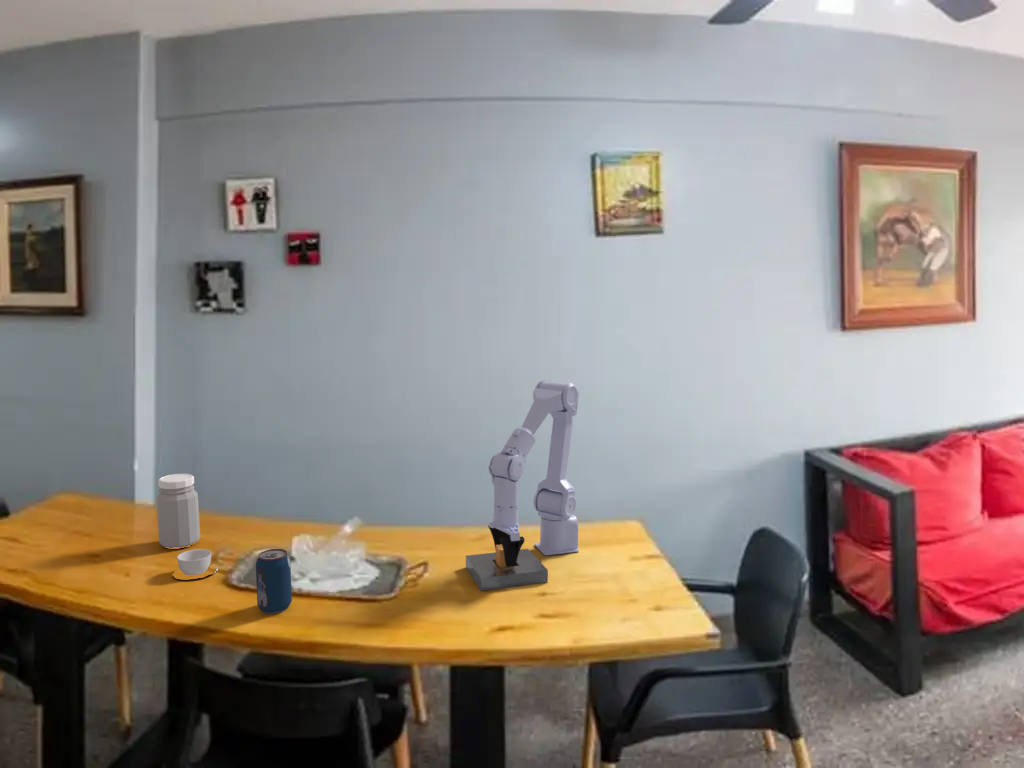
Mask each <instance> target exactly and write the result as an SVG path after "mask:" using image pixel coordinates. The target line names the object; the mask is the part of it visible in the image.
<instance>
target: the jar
mask: <svg viewBox="0 0 1024 768" xmlns="http://www.w3.org/2000/svg"><path fill="white" fill-rule="evenodd" d="M157 480H158V481H157V483H158V487H159V489H158V492H159V493H158V495H157V496H156V513H157V514H156V515H157V527H158V528H157V529H158V543H159V544H160V545H161V546H162V547H163V546H164V547H169V548H173V547H183V546H188V545H191V544H193V543H195V542H196V543H197V542H198V541H199V540H200V538H201V529H200V528H201V527H200V510H199V509H200V508H199V494H198V491H197V490H195V485H194V484H195V476H194V475H193V474H191V473H173V474H172V473H171V474H168V475H164V476H161V477H160V478H159V479H157ZM164 547H163V548H164Z"/></svg>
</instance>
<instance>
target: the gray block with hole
mask: <svg viewBox="0 0 1024 768" xmlns="http://www.w3.org/2000/svg"><path fill="white" fill-rule="evenodd" d="M465 569H466V570H467V572H468V573H469V575H470V576H471V578H472V580H473V581H474V583H475V584H476V586H477V587H478V589H479V590H480V592H484V591H493V590H499V589H501V590H502V589H507V588H509V589H510V588H516V587H524V586H531V585H538V584H545V583H546V584H547V583H549V581H548V580H549V577H548V576H549V574H548V573H549V570H548V568H547V567H546V566H545V565H544V564H543V563H542V562H541V561H540V560H539V559H538V558H537V556H535V554H533V552H531V550H530V549H529V548H520V551H519V554H518V558H517V562H516V565H515V566H513V567H504V568H498V567H497V566H496V551H495V552H486V553H477V554H476V553H475V554H469V555H465Z"/></svg>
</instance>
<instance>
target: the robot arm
mask: <svg viewBox="0 0 1024 768" xmlns="http://www.w3.org/2000/svg"><path fill="white" fill-rule="evenodd" d="M579 396H580V393H579V390H578V387H576V385H575V383H573V382H568V383H566V382H558V381H557V382H556V381H550V380H549V381H548V380H543V379H541V380H539V381H538V382H537V384H536V385H535V387H534V390H533V391H532V399H533V402H532V404H531V406H530V409H529V411H528V412H527V415H526V416H525V418H524V421H523V423H522V426H521V427H517V428H514V430H513V431H512V432H511V435H510V436H509V438H508V439H507V441H506V443H505V445H504V446H503V448H502V450H501V451H500V452H498V453H497V454H495V455H493V456H492V457H491V459H490V462H489V465H488V473H489V475H490V477H491V483H492V485H493V514H492V515H493V516H492V517H493V518H492V519H493V520H492V522H489V523H488V529H489V531H490V533H491V536H492V539H493V544H494V549H495V551H496V545H500V544H502V547H503V550H504V557H505V563H506V566H507V567H512V566H515V565H516V562H517V558H518V554H519V551H520V549H522V546H523V545H524V543H525V538H524V537H523V536H520V535H521V532H520V531H519V529H520V523H519V486H520V485H519V479H520V478H522V476H523V474H524V471H525V466H526V461H527V460H526V458H527V457H528V455H529V453H530V451H531V449H532V448H533V446H534V444H535V442H536V439H535V433H536V432H537V431H538V429H539V428H540V427H541V426H542V423H544V421H545V419H546V418H547V417H548V415H549V414H550V416H551V417H552V424H551V425H552V426H551V435H550V446H549V454H548V463H547V469H546V470H547V471H546V477H545V479H543V480H541V481H540V482H538V484H537V489H536V492H535V494H534V497H533V506H534V509H535V510H536V512H537V515H538V516H539V517H540V524H539V525H540V531H539V532H540V534H539V535H540V536H539V538H540V539H539V542H535V543H534V546H535V547H536V548H537V549H538V550H539V551H540V552H541V553H542V554H543V555H544V556H553V555H562V554H569V553H578V552H580V549H579V523H578V518H577V517H576V516H575V515H574V512H575V511H576V507H577V505H576V504H577V501H576V488H575V487H574V486H573V485H572V484H571V483H570V482H569V481H568V470H569V461H570V452H571V443H572V437H573V435H572V434H573V427H574V420H575V416H577V414H578V413H577V412H578V406H579Z"/></svg>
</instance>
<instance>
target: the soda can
mask: <svg viewBox="0 0 1024 768" xmlns="http://www.w3.org/2000/svg"><path fill="white" fill-rule="evenodd" d="M257 557H258V558H257V559H256V561H255V575H256V576H255V581H256V602H257V606H258V608H259V610H260V611H261V612H262V613H264V614H271V615H272V614H273V615H276V614H279V613H282V612H284V611H287V609H289V607H290V605H291V603H292V601H293V598H292V597H293V595H292V571H291V570H292V569H291V567H292V566H291V558H290V557H289V555H288V551H287V550H285V549H283V548H272V549H271V548H270V549H265V550H263V551H261V552H259V553H258V556H257Z"/></svg>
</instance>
